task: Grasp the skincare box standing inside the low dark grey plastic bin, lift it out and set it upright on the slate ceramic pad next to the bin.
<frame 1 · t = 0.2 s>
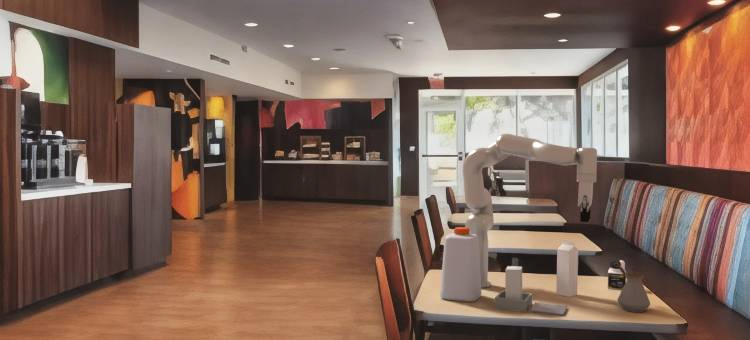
hand: (585, 220, 249), 31 cm above the table, fingers open, 9 cm apart
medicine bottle: (616, 288, 267), on the table
skincare box: (513, 306, 235), resting in bin
pad: (548, 310, 229), on the table
plastic bottle: (460, 297, 247), on the table
milk: (566, 295, 254), on the table
bin: (513, 305, 235), on the table
coffee pot: (627, 306, 237), on the table
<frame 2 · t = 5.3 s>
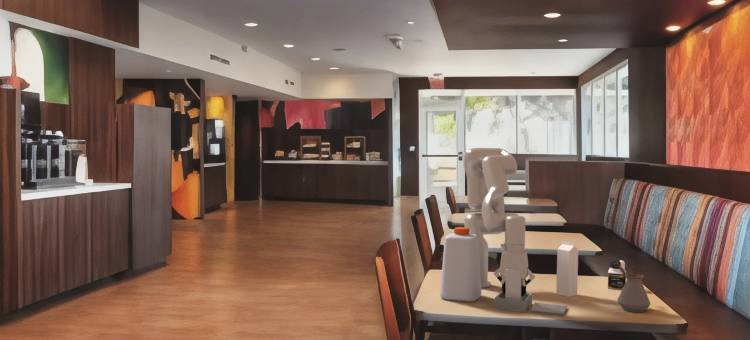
hand: (513, 294, 235), 4 cm above the table, fingers closed on skincare box, 6 cm apart
skincare box: (513, 306, 235), resting in bin, touching gripper
everything else where it was.
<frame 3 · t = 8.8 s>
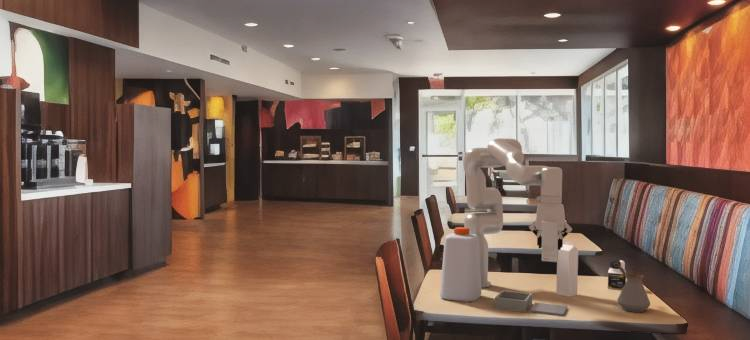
hand: (549, 248, 228), 23 cm above the table, fingers closed on skincare box, 6 cm apart
skincare box: (549, 260, 229), point 19 cm above the table, touching gripper
everything else where it was.
when the fingers open (7 cm above the table, at t = 12.7 s): skincare box drops 1 cm, resting on pad.
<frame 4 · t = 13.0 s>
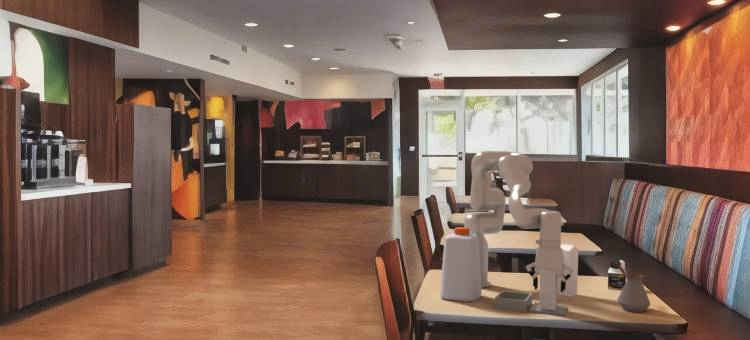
hand: (549, 290, 229), 8 cm above the table, fingers open, 9 cm apart
skincare box: (547, 308, 230), point 1 cm above the table, touching pad
everything else where it was.
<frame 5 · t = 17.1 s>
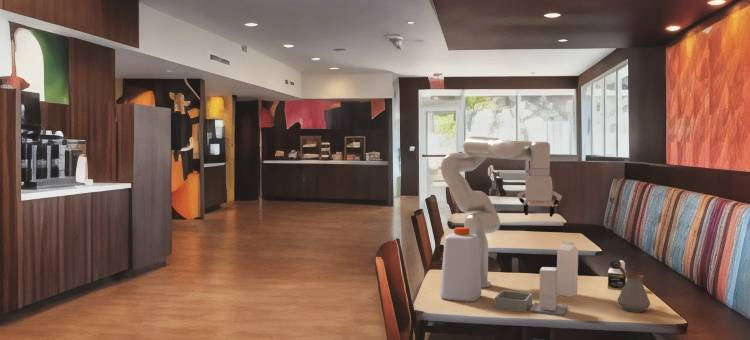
hand: (538, 215, 245), 33 cm above the table, fingers open, 9 cm apart
nothing on the table moved.
at the end: skincare box inside the target area on the pad (0.3 cm from its centre), point 0.6 cm above the pad's base; skincare box tilted 0°; the gripper is holding nothing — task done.
